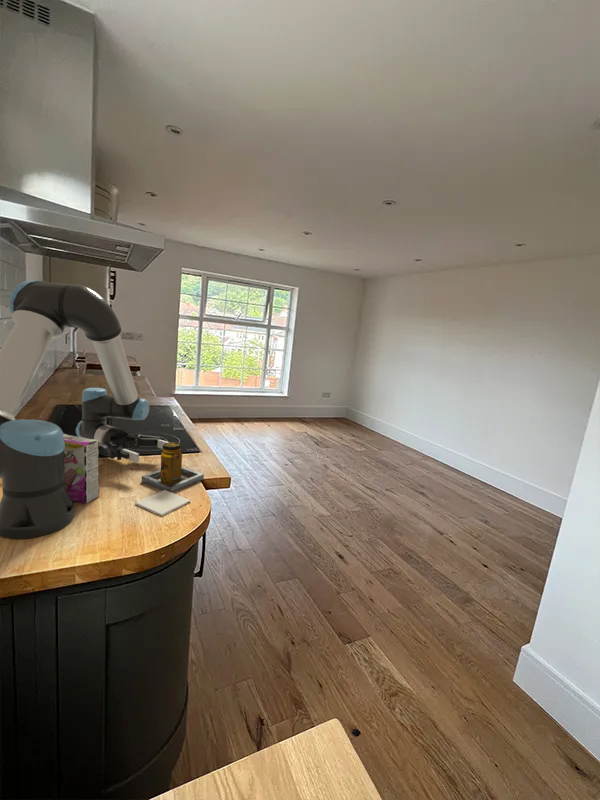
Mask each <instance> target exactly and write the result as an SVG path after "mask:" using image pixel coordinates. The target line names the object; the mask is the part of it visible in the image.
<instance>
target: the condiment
mask: <svg viewBox="0 0 600 800" xmlns="http://www.w3.org/2000/svg"><path fill="white" fill-rule="evenodd" d="M168 442H169V441H168ZM181 450H182V445H181V443H179V442H175V441H173V442H169V443H165V444H163V449H162V452H161V453H160V470H161V477H160V479H158V480H159V481H162V482H164V483H167V484H169V485H174V484H176V483H178V482H181V481H183V480H186V479H188V478H189V477H186V476H184V475H183V474H181V468H182V467H183V466H182V465H183V464H182V463H183V461H182V460H183V454H182V452H181Z"/></svg>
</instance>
